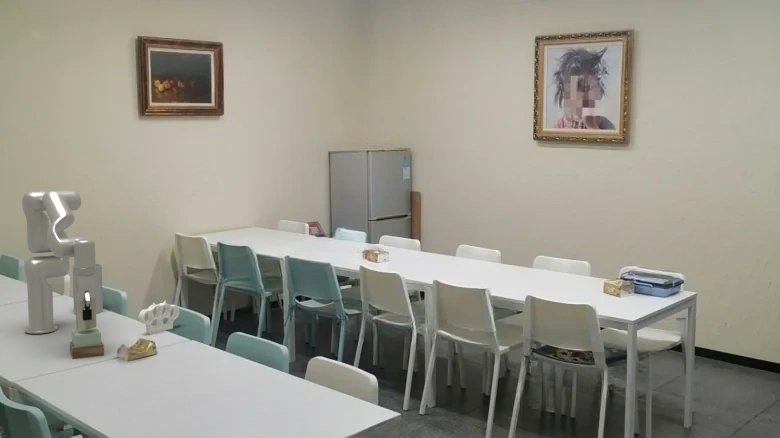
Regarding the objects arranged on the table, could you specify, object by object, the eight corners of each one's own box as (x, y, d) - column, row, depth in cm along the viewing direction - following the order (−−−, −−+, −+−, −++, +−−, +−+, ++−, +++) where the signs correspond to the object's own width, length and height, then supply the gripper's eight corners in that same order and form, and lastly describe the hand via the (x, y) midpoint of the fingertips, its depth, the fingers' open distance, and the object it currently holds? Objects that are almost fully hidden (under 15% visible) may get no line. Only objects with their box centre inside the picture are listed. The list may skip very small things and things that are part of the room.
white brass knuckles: (180, 331, 327) (179, 298, 326) (143, 339, 313) (143, 304, 311) (175, 330, 329) (174, 297, 328) (139, 338, 315) (138, 303, 314)
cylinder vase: (97, 315, 360) (96, 263, 358) (107, 319, 350) (105, 266, 348) (70, 318, 352) (68, 265, 350) (79, 323, 342) (77, 268, 340)
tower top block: (72, 342, 290) (71, 331, 290) (96, 339, 295) (96, 328, 295) (75, 347, 283) (75, 335, 282) (101, 344, 287) (100, 332, 287)
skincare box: (88, 326, 292) (87, 295, 291) (97, 327, 291) (96, 296, 290) (75, 330, 287) (74, 298, 286) (84, 331, 285) (83, 299, 284)
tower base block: (70, 353, 292) (69, 341, 291) (100, 350, 297) (100, 338, 296) (72, 360, 282) (72, 348, 282) (103, 356, 287) (103, 345, 287)
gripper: (72, 269, 293) (73, 314, 294) (76, 275, 277) (77, 323, 279) (93, 268, 296) (94, 312, 298) (98, 274, 281) (99, 321, 282)
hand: (86, 317), depth 288 cm, fingers closed on skincare box, 7 cm apart
